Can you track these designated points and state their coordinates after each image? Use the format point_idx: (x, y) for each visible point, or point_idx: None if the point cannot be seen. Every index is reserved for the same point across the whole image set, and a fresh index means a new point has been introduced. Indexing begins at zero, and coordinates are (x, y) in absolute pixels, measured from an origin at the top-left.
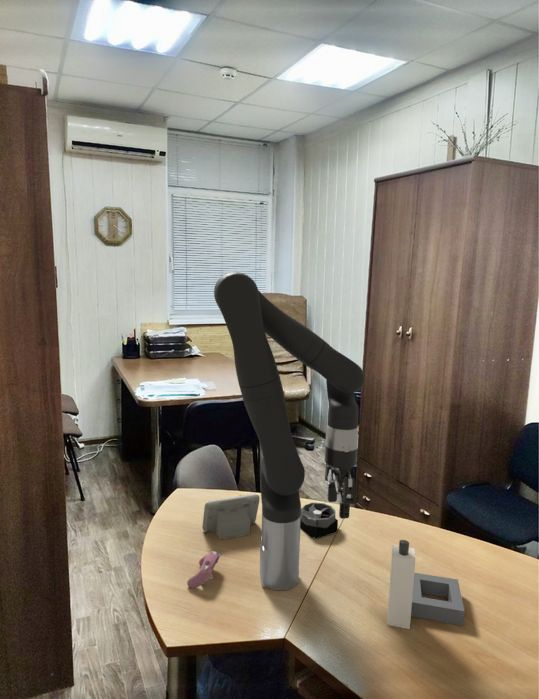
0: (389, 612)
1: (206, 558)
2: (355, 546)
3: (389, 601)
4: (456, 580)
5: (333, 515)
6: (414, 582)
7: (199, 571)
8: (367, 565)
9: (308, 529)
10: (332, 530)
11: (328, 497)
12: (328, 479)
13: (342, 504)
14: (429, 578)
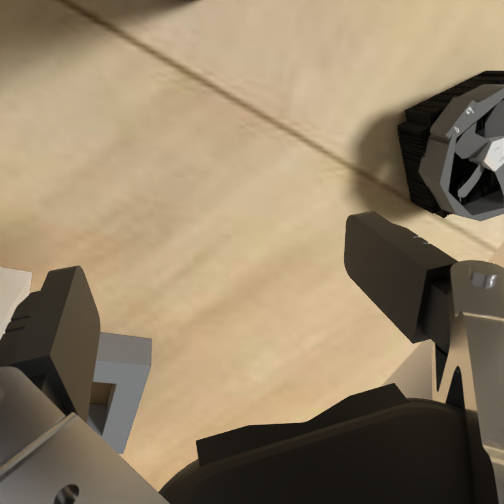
0: None
1: None
2: (332, 242)
3: None
4: (118, 450)
5: (455, 209)
6: (100, 370)
7: None
8: (240, 257)
9: (438, 104)
10: (415, 190)
11: (368, 225)
12: (494, 336)
13: (23, 369)
14: (122, 403)
